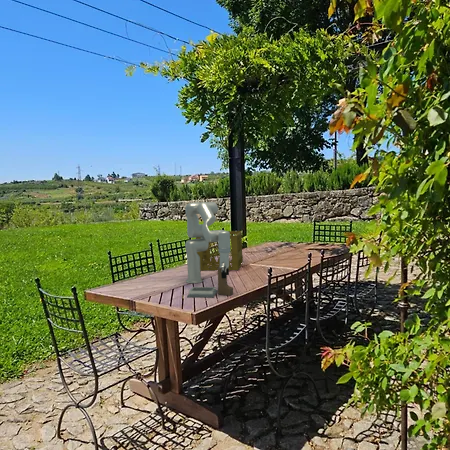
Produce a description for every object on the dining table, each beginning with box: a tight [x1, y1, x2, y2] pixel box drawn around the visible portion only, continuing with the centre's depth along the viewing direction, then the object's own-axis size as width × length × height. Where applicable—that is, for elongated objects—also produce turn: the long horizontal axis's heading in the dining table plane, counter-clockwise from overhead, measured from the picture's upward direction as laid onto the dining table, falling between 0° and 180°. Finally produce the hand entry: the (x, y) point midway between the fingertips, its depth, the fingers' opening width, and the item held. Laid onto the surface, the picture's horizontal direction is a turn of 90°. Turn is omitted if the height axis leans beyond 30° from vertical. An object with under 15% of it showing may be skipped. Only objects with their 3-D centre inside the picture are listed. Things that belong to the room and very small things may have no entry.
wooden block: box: [216, 266, 234, 296], centre depth 254 cm, size 9×4×18 cm, turn 59°
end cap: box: [186, 286, 218, 299], centre depth 256 cm, size 16×17×4 cm
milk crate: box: [195, 230, 244, 272], centre depth 347 cm, size 36×36×30 cm
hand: (225, 276), depth 254 cm, fingers open, 9 cm apart
